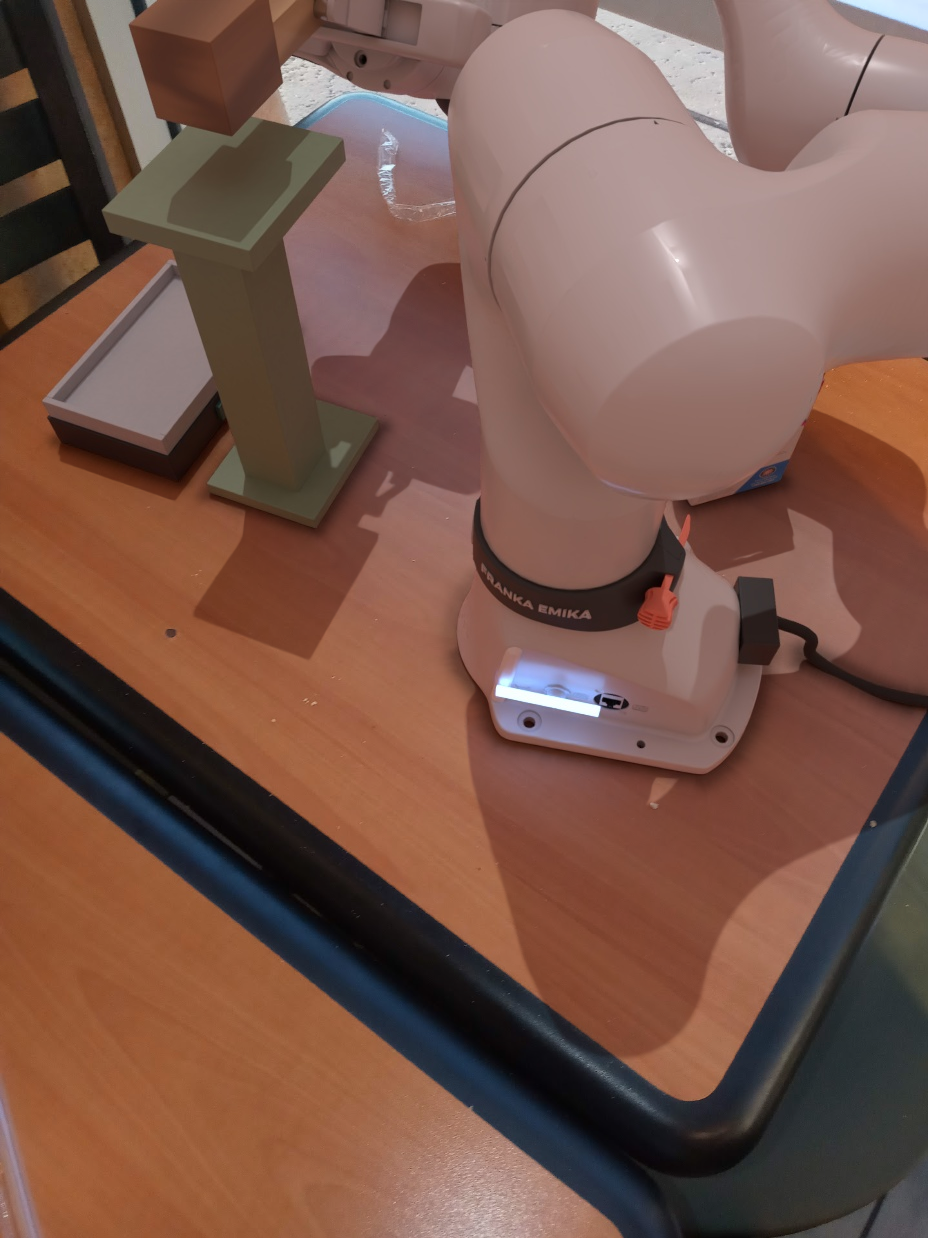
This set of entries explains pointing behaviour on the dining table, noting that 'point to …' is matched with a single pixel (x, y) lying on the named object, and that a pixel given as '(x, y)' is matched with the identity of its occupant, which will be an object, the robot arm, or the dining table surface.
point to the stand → (251, 303)
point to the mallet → (217, 56)
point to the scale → (142, 386)
